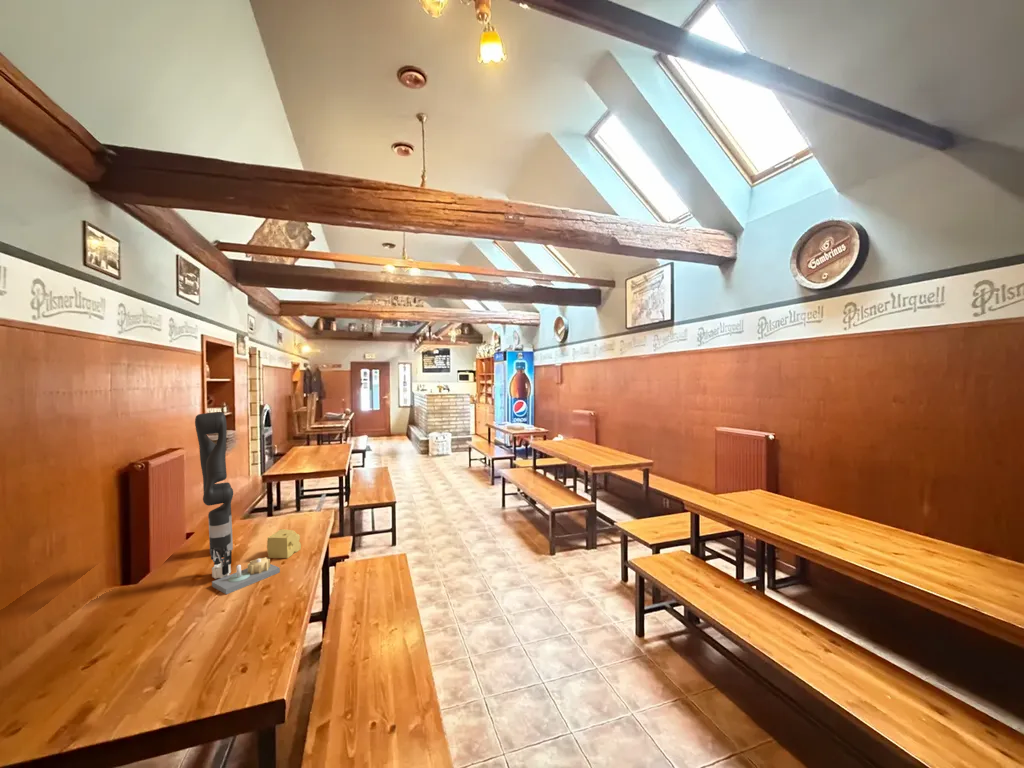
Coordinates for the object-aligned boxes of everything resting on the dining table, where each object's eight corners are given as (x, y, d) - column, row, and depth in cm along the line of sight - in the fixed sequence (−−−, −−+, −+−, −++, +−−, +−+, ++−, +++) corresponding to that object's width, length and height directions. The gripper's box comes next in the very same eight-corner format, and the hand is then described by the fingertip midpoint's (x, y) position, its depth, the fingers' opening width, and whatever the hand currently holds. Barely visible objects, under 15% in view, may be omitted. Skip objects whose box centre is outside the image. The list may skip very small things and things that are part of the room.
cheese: (301, 549, 207) (300, 529, 207) (287, 559, 196) (286, 538, 196) (281, 549, 208) (280, 528, 208) (266, 558, 197) (265, 537, 197)
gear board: (212, 586, 172) (211, 569, 172) (265, 565, 190) (264, 550, 189) (226, 594, 165) (225, 576, 165) (279, 572, 183) (279, 556, 183)
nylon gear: (209, 576, 180) (209, 566, 180) (226, 569, 186) (226, 560, 186) (216, 579, 177) (216, 570, 177) (233, 573, 182) (233, 564, 182)
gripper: (202, 533, 181) (203, 571, 182) (218, 540, 174) (219, 580, 174) (221, 527, 188) (223, 564, 188) (237, 533, 180) (239, 572, 181)
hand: (221, 571), depth 181 cm, fingers closed on nylon gear, 6 cm apart
